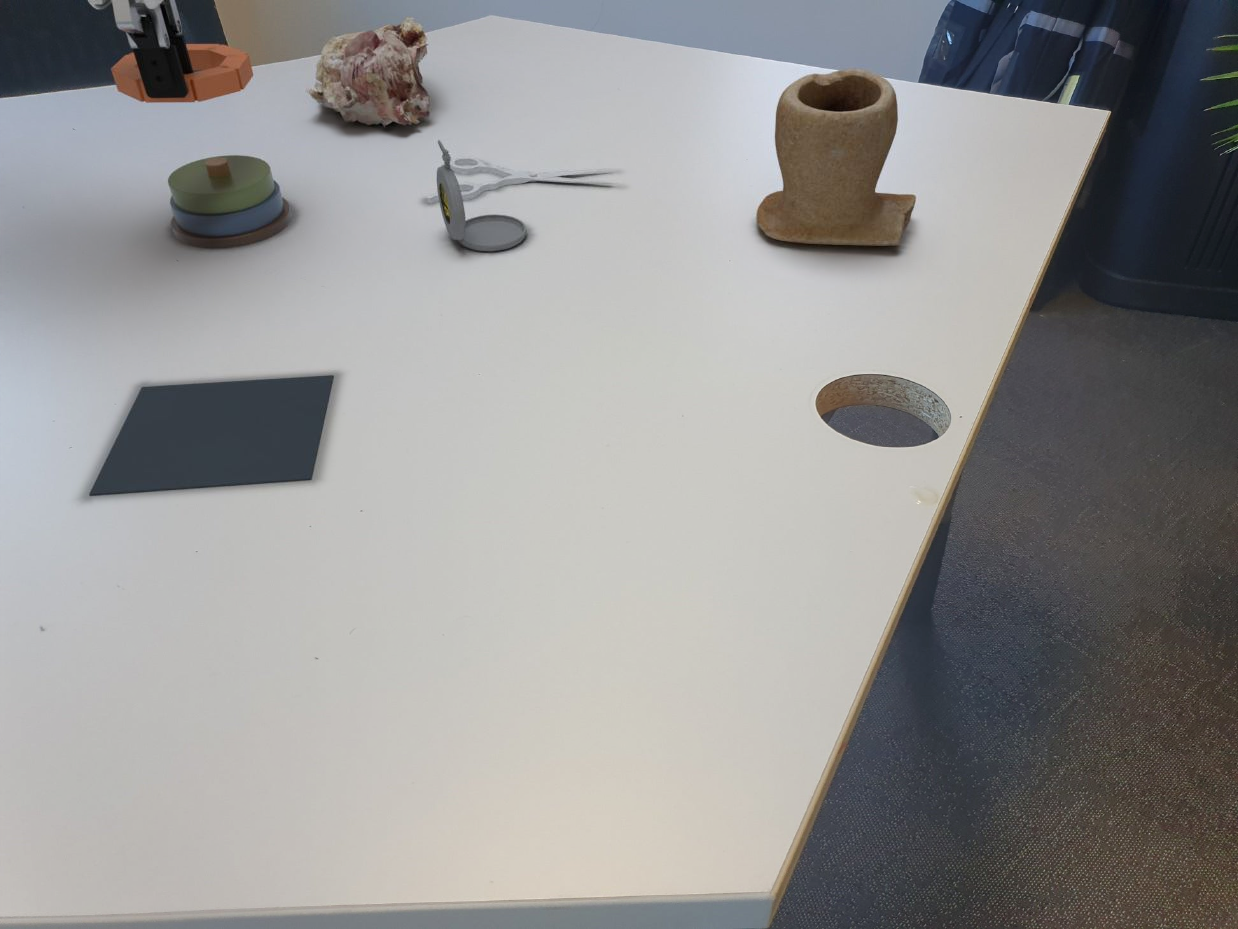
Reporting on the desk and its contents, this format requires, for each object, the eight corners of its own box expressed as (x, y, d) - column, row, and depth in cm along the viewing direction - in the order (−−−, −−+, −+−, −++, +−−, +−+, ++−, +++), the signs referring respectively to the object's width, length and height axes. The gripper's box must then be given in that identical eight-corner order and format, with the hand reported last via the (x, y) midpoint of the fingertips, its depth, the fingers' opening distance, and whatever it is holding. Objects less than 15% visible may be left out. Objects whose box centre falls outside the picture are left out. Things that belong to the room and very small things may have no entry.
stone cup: (750, 259, 84) (769, 93, 74) (758, 205, 93) (775, 51, 83) (918, 273, 82) (959, 105, 72) (909, 217, 91) (945, 60, 81)
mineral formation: (335, 69, 122) (295, 4, 114) (446, 32, 120) (413, -37, 111) (331, 185, 111) (286, 122, 102) (453, 146, 108) (418, 79, 100)
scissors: (437, 157, 100) (617, 153, 100) (438, 164, 100) (617, 160, 101) (426, 197, 92) (621, 193, 92) (427, 205, 92) (622, 200, 93)
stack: (161, 253, 84) (138, 187, 80) (190, 203, 92) (170, 141, 88) (282, 247, 85) (265, 182, 81) (300, 199, 93) (285, 137, 89)
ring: (104, 103, 75) (96, 80, 74) (143, 64, 83) (137, 43, 82) (235, 102, 76) (229, 80, 75) (261, 64, 84) (256, 43, 83)
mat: (90, 498, 58) (88, 494, 58) (143, 390, 67) (141, 386, 67) (312, 482, 60) (310, 478, 59) (334, 379, 69) (333, 374, 68)
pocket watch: (540, 235, 87) (534, 131, 81) (483, 269, 82) (472, 162, 75) (476, 214, 91) (465, 113, 84) (417, 246, 85) (401, 141, 79)
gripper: (77, -187, 70) (152, 63, 82) (-6, -163, 58) (95, 126, 70) (178, -185, 71) (237, 62, 82) (117, -161, 59) (196, 124, 70)
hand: (172, 89), depth 76 cm, fingers closed on ring, 2 cm apart
